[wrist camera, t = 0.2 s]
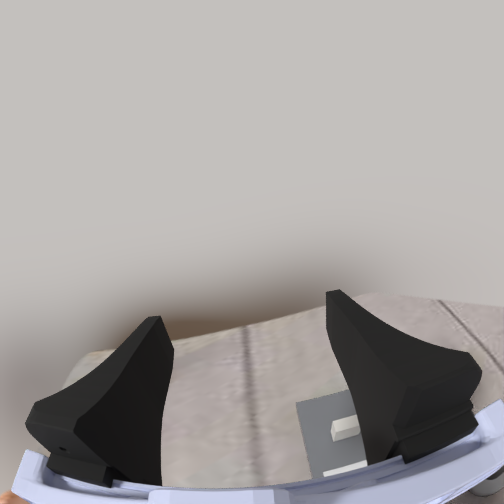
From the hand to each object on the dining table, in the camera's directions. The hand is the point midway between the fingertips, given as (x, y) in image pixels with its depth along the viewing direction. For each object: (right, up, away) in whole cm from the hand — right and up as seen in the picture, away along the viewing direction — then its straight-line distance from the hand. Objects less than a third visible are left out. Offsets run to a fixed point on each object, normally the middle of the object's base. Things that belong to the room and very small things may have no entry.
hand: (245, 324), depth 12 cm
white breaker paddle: (+9, -15, +11) cm, 21 cm away
